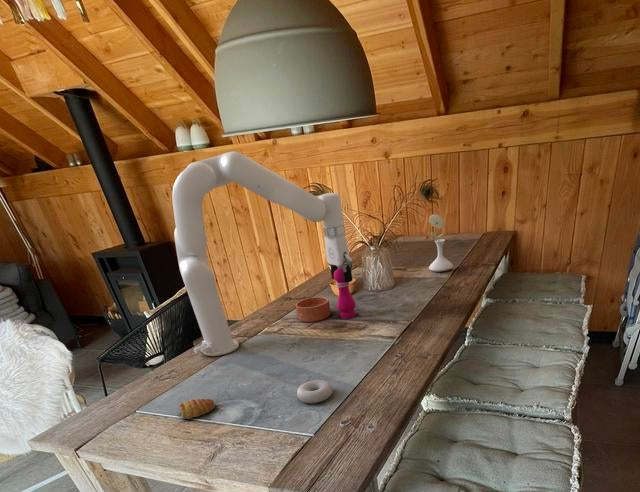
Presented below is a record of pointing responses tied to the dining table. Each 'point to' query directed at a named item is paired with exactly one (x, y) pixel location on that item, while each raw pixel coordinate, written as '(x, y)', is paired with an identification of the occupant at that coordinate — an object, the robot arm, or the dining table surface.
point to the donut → (314, 391)
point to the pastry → (196, 407)
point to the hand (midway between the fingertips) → (342, 279)
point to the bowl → (313, 309)
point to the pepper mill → (344, 296)
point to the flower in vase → (439, 246)
